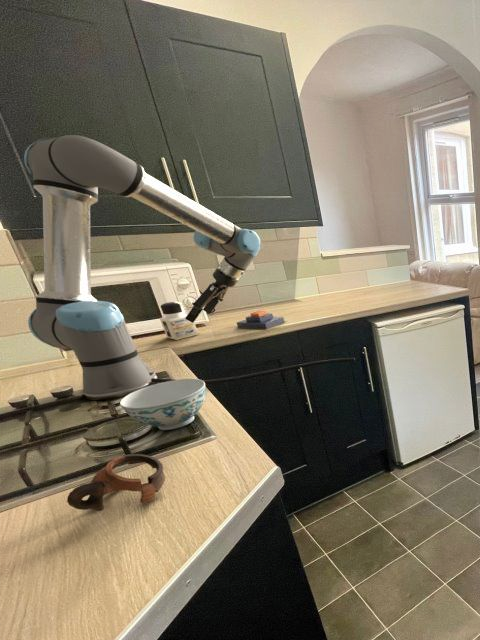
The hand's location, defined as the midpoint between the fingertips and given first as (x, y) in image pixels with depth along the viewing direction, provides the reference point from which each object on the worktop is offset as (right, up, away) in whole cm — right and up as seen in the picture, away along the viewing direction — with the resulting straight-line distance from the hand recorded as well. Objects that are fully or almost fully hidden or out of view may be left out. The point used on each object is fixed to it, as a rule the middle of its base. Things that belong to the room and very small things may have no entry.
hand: (198, 315), depth 160 cm
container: (-7, -8, +2) cm, 11 cm away
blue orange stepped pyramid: (+17, -2, +13) cm, 21 cm away
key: (+16, +2, +12) cm, 20 cm away
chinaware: (+44, -35, -64) cm, 85 cm away
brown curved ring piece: (+55, -46, -90) cm, 115 cm away
